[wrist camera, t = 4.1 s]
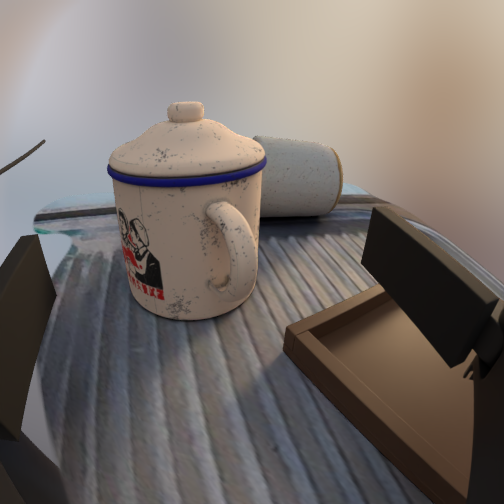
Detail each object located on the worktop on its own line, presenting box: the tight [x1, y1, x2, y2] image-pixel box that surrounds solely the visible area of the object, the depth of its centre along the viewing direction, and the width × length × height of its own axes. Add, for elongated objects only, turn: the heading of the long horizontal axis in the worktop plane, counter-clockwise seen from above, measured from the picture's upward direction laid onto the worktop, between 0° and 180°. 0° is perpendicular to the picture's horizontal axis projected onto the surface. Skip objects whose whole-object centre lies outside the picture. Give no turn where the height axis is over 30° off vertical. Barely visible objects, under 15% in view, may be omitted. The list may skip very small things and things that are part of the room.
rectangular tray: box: [283, 284, 504, 504], centre depth 14 cm, size 15×15×2 cm
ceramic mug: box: [253, 136, 343, 217], centre depth 32 cm, size 11×8×8 cm
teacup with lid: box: [107, 102, 267, 320], centre depth 18 cm, size 12×9×12 cm
